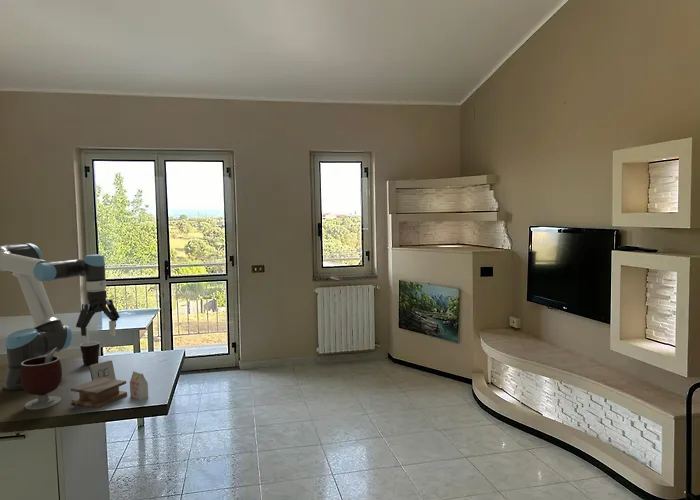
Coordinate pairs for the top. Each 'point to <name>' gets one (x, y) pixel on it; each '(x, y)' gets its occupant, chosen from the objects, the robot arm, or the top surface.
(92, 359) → the coffee mug
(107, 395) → the walnut stand
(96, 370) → the electrical switch
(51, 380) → the mate gourd
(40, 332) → the robot arm
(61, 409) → the top surface
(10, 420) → the top surface
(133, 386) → the milk carton
